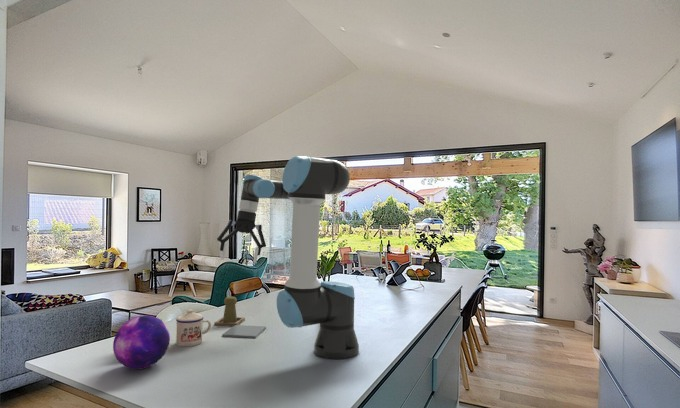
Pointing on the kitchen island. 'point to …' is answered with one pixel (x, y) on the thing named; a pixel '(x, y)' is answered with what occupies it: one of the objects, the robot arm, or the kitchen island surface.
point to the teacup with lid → (190, 328)
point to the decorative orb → (141, 342)
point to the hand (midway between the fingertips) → (238, 261)
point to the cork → (230, 310)
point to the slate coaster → (244, 331)
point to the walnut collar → (221, 323)
